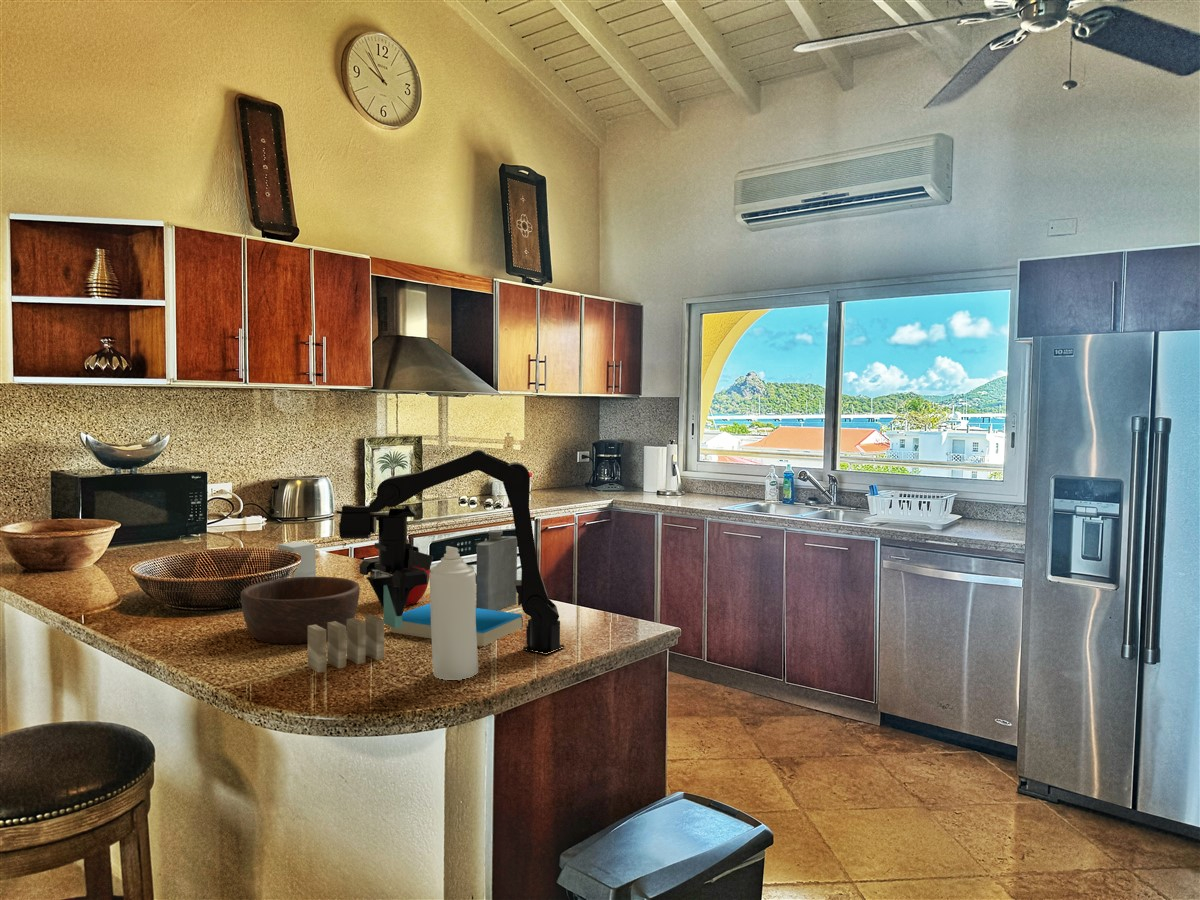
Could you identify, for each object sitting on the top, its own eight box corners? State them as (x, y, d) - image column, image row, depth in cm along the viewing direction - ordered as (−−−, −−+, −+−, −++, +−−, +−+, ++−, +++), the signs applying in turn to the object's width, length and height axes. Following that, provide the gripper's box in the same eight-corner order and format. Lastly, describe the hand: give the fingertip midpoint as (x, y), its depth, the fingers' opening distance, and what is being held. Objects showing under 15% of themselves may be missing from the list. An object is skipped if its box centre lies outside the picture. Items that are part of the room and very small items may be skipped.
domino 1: (315, 664, 159) (315, 624, 159) (326, 670, 155) (326, 629, 155) (307, 666, 158) (307, 625, 158) (318, 672, 154) (318, 631, 154)
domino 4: (372, 653, 167) (372, 614, 167) (384, 658, 164) (384, 619, 163) (365, 654, 166) (365, 615, 166) (376, 660, 162) (376, 620, 162)
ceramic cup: (443, 595, 220) (443, 558, 220) (418, 609, 203) (418, 570, 203) (398, 592, 222) (398, 556, 222) (370, 607, 206) (370, 567, 205)
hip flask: (484, 616, 198) (485, 535, 197) (470, 614, 199) (471, 534, 198) (518, 603, 212) (519, 527, 211) (505, 601, 214) (506, 526, 213)
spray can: (493, 679, 152) (494, 547, 151) (441, 690, 146) (441, 552, 145) (466, 663, 161) (467, 538, 160) (415, 672, 155) (416, 543, 154)
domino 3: (354, 656, 165) (354, 617, 164) (365, 662, 161) (365, 622, 160) (346, 658, 163) (346, 619, 163) (357, 664, 160) (357, 624, 159)
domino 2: (335, 660, 162) (335, 621, 161) (346, 666, 158) (346, 626, 158) (327, 662, 161) (327, 622, 160) (338, 668, 157) (338, 627, 157)
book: (484, 631, 172) (389, 615, 182) (483, 651, 172) (388, 634, 183) (523, 613, 188) (434, 599, 198) (523, 631, 188) (434, 617, 198)
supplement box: (300, 584, 230) (300, 540, 230) (316, 588, 226) (316, 543, 225) (277, 589, 224) (276, 543, 224) (292, 593, 220) (292, 546, 219)
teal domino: (395, 628, 165) (395, 589, 164) (383, 623, 169) (383, 585, 168) (402, 627, 166) (402, 588, 166) (390, 622, 170) (390, 584, 169)
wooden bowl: (226, 651, 168) (225, 601, 167) (257, 619, 192) (257, 577, 192) (351, 647, 171) (351, 599, 171) (366, 617, 196) (366, 575, 196)
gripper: (451, 540, 165) (450, 616, 166) (405, 529, 179) (405, 599, 179) (401, 545, 157) (401, 625, 158) (358, 534, 171) (358, 607, 172)
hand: (392, 613), depth 167 cm, fingers closed on teal domino, 5 cm apart
